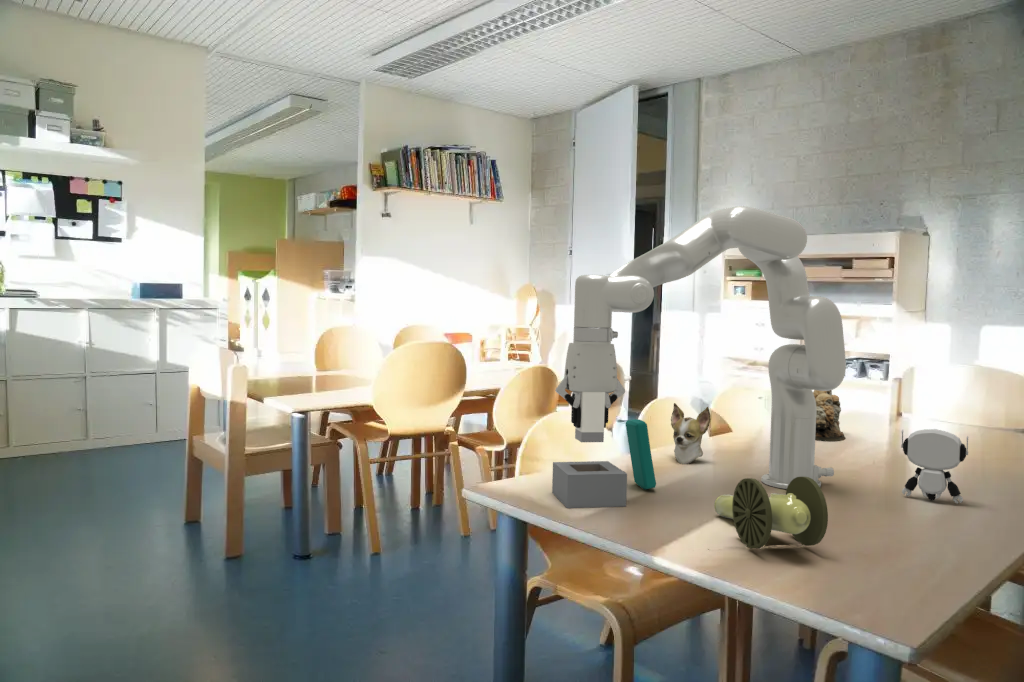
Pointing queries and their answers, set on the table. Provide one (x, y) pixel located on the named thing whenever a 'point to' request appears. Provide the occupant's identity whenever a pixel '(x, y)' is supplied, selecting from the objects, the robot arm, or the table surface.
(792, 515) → the cannon
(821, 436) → the brown rough lump
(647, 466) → the digital multimeter
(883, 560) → the table surface
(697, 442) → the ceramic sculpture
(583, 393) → the plug
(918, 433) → the robot toy
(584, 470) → the socket
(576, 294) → the robot arm
